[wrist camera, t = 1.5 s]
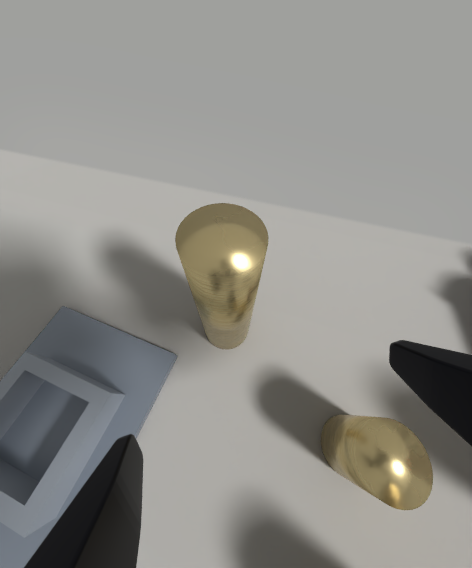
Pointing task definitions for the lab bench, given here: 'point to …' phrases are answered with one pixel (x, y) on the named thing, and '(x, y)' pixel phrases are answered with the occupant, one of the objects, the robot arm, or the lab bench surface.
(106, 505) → the robot arm
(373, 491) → the pin short
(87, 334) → the gauge plate
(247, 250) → the pin long
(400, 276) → the lab bench surface
